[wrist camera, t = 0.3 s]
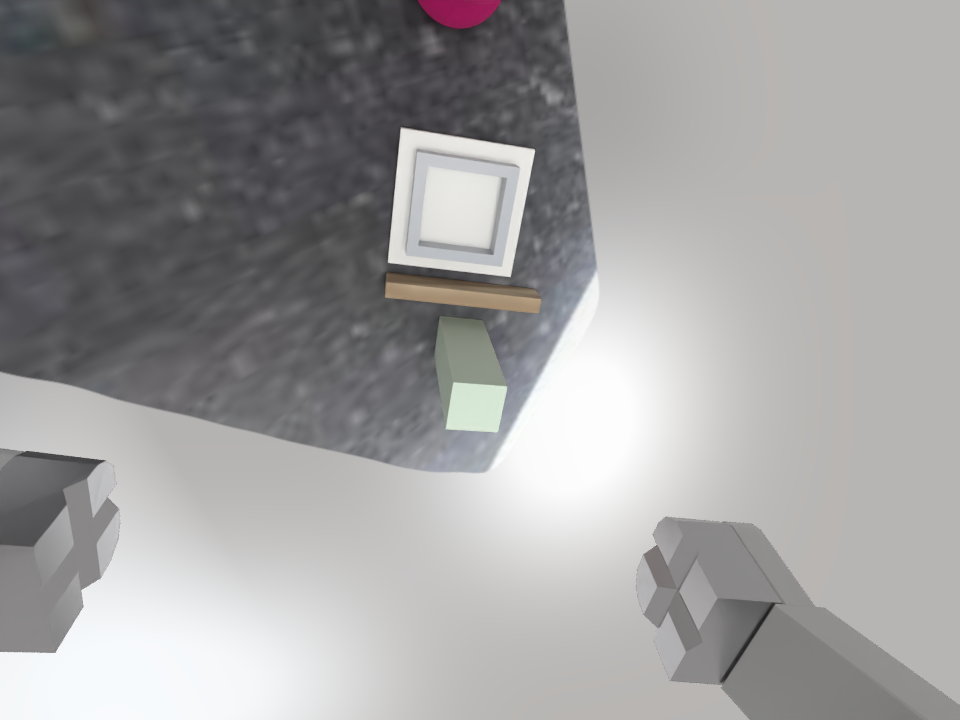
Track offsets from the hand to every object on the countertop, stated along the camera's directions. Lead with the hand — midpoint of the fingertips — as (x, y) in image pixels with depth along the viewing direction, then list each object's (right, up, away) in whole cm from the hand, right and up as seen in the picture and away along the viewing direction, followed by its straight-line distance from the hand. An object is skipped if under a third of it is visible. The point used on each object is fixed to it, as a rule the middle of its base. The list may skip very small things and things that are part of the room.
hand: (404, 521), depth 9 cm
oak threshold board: (-1, +10, +49) cm, 50 cm away
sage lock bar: (-1, +5, +51) cm, 51 cm away
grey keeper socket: (-1, +17, +45) cm, 48 cm away
